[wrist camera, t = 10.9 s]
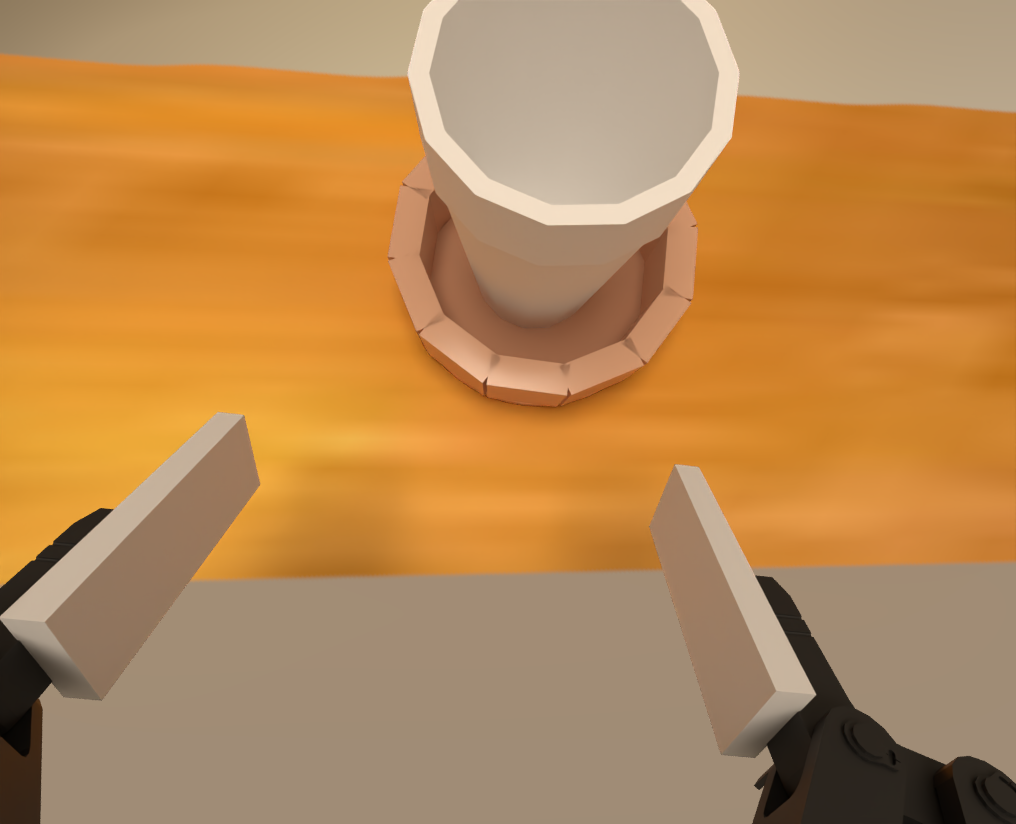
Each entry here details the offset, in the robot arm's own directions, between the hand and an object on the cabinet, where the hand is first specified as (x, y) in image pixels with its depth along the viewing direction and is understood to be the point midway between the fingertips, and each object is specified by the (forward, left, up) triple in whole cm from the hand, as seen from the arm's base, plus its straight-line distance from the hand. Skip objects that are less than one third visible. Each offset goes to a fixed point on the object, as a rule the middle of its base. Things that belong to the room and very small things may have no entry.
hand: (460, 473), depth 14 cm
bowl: (+2, +12, -11) cm, 16 cm away
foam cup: (+2, +12, -10) cm, 15 cm away
